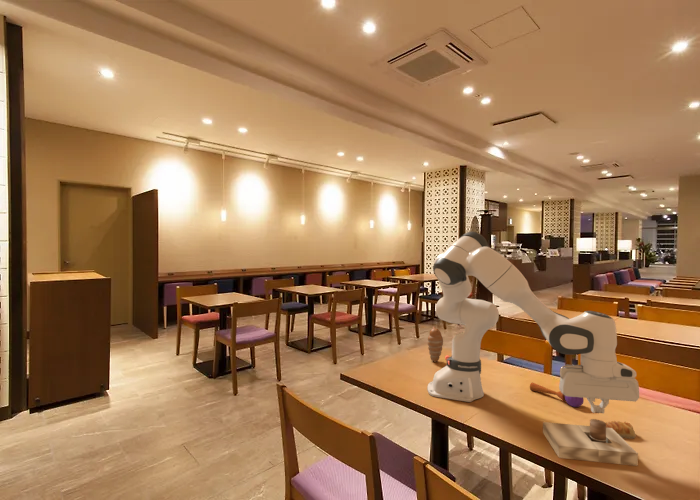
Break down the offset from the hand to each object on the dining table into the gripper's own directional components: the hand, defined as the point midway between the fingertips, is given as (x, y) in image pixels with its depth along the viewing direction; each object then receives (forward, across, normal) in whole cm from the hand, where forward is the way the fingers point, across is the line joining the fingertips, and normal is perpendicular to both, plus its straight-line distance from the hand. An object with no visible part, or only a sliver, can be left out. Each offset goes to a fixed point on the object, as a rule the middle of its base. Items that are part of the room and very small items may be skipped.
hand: (597, 412), depth 108 cm
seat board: (+11, -3, 0) cm, 12 cm away
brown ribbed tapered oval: (+11, -45, +72) cm, 86 cm away
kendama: (+12, 0, +36) cm, 38 cm away
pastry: (+12, +11, +12) cm, 20 cm away
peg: (+11, 0, 0) cm, 11 cm away
